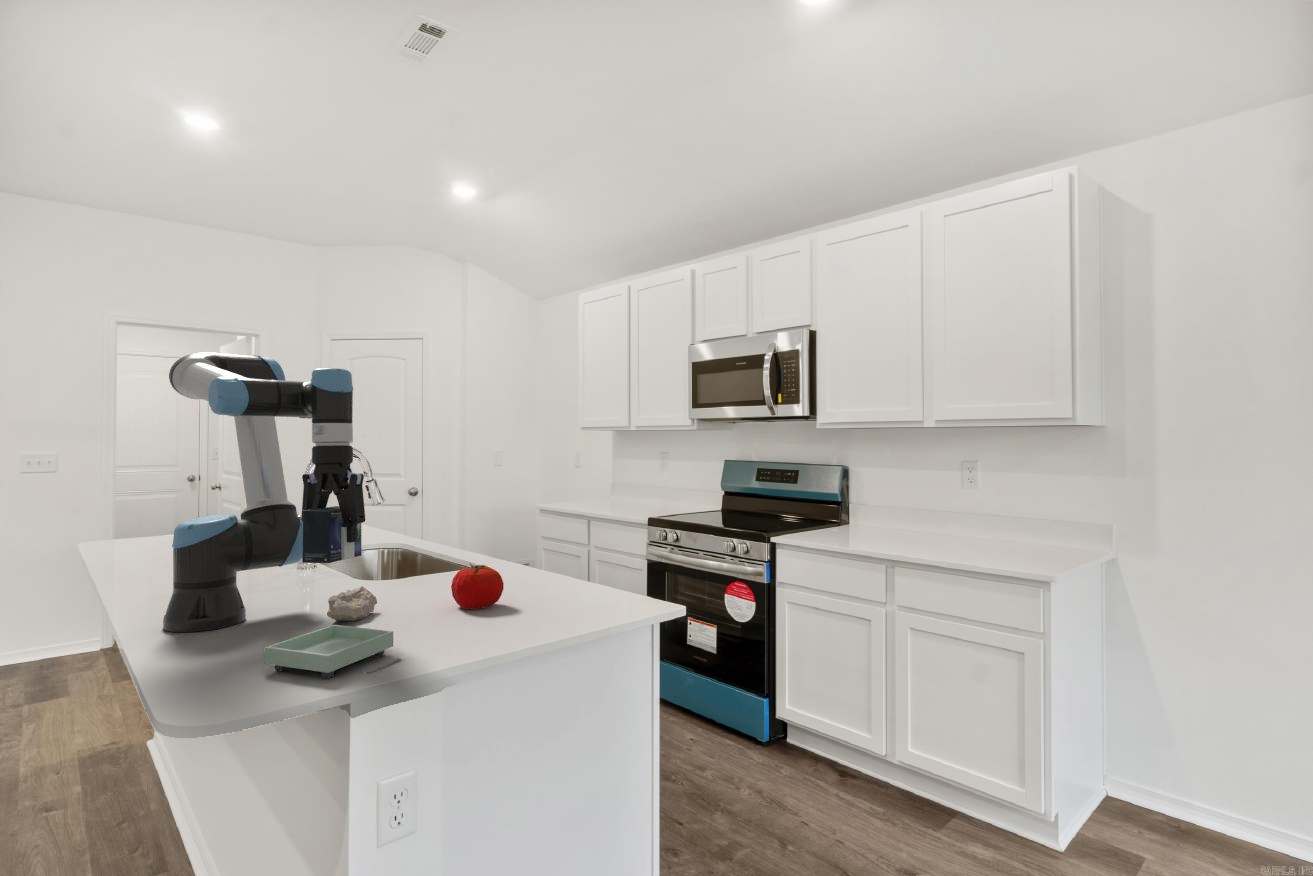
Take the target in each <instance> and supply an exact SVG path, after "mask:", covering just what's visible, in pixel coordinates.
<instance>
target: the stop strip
mask: <svg viewBox="0 0 1313 876" xmlns="http://www.w3.org/2000/svg"><path fill="white" fill-rule="evenodd" d="M402 660H403V658H402V657H398V658H395V659H393V660H390V661H389V662H386V663H384V664H380V665H379V666H377V667H374V668H371V669H370V670H368V671H366V674H373V673H374V672H377V671H379V670H382V669H385V668H386V667H388V666H390V665H393V664H396V663H397V662H400V661H402Z"/></svg>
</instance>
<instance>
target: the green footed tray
mask: <svg viewBox="0 0 1313 876" xmlns="http://www.w3.org/2000/svg"><path fill="white" fill-rule="evenodd" d="M392 647H394V631H392V630H383V629H377V628H376V629H374V628H366V627H365V628H364V627H357V626H349V625H341V624H340V625H339V624H332V625H328V626H326V627H322V628H320V629H319V628H318V629H317V630H314V631H310V632H307V633H304V634H301V635H298V636H295V637H292V638H289V639H286V640H283V641H280V642H277V643H273V644H270V645H267V646H265V647H264V649H263V650H264V652H263V654H264V655H263V656H264V658H263V659H264V665H265V664H266V665H270V666H271V665H272V666H274V669H275V671H276V672H277V673H279V672H282V671H285V670H287V668H291V669H293V668H294V669H300V670H306V671H314V672H320V673H321V675H322V678H324V679H326V680H327V679H329V678H332V677H333V676H334V674H335V671H336V670H339V669H341V668H344V667H345V666H348V665H352V664H353V663H355V662H359V661H361V660H364V659H366V658H368V657H371V656H373V655H374V657H376V658H380V657H383V656H384V655H385V650H389V649H390V648H392Z"/></svg>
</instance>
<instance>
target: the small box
mask: <svg viewBox="0 0 1313 876" xmlns="http://www.w3.org/2000/svg"><path fill="white" fill-rule="evenodd" d="M350 520H351V519H350ZM343 524H344V521H343V517H342V514H341V510H340V507H339V505H336V506H335V505H334V506H328V507H327V506H326V508H317V509H308V510H303V557H302V559H301V560H302V561H301V562H302V563H303V564H304V563H305V564H306V563H307V564H308V563H310V564H313V563H314V564H331V563H334V562H335V563H337V562H339V561H342V560H341V527H343V526H342V525H343ZM356 535H357V536H356V537H357V540H356V542H354V558H357V557H361V556H362V523H360V524H358V525H357V534H356Z"/></svg>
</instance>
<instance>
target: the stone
mask: <svg viewBox="0 0 1313 876" xmlns="http://www.w3.org/2000/svg"><path fill="white" fill-rule="evenodd" d="M327 602H328V606H329V609H328V610H327V613H326V616H328V618H330V619H331V620H334V621H346V622H347V621H350V622H352V621H353V622H355V621H359V620H362V619H364V618H366V617H367V616H369V615H370V613H371V614H372V613H373V612H374V611H375V606H376V605H377V604H378V600H377V597H376V596H375V595H374V594H373V593H372V592H371V591H370V590H369V589H367V588H365V587H364V586H359V587H358V588H354V589H346V591H342V592H341V591H340V593H338V594H336V595H332V596H330V597H329V598H328V600H327Z"/></svg>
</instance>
